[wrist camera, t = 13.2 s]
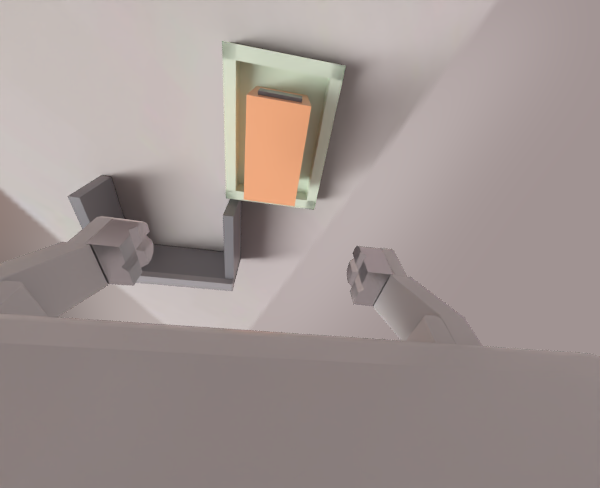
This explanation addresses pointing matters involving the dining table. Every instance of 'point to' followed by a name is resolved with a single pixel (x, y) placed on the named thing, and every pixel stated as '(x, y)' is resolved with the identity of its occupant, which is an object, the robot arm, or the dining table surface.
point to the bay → (167, 259)
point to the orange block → (274, 144)
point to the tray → (286, 77)
